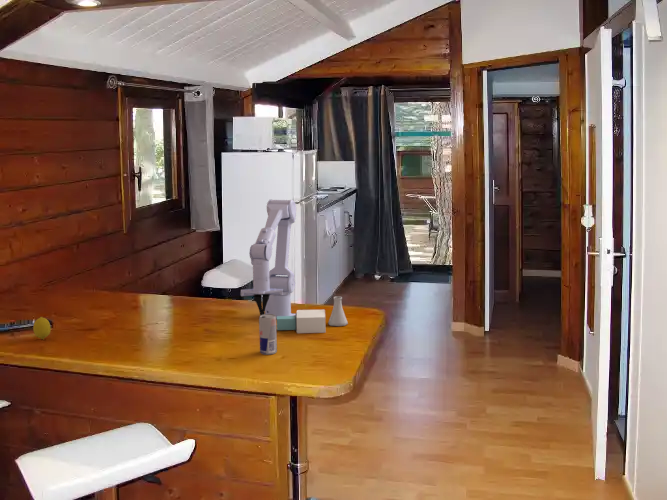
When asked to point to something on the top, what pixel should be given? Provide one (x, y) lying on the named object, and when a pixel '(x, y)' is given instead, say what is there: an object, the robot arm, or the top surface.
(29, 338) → the top surface
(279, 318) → the peg
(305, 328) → the socket block
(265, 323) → the energy drink
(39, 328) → the lemon
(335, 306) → the flask
